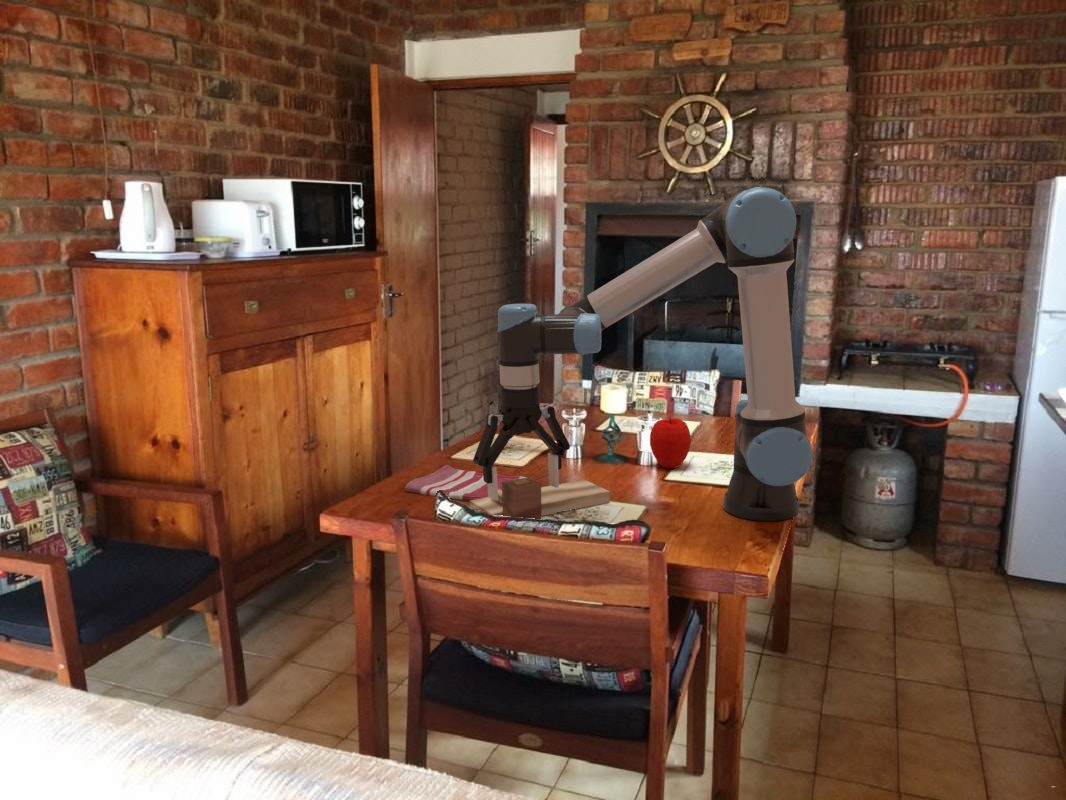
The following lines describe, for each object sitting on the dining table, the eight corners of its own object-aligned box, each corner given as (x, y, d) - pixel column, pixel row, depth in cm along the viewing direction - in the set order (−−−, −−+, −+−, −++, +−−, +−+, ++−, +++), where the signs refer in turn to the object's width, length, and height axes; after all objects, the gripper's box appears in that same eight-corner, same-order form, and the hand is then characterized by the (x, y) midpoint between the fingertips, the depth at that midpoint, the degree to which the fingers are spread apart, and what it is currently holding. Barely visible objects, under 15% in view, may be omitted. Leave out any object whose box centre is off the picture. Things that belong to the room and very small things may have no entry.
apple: (666, 458, 225) (667, 410, 222) (699, 466, 218) (700, 416, 215) (641, 466, 218) (641, 417, 215) (674, 474, 211) (675, 424, 208)
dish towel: (444, 474, 215) (443, 463, 215) (531, 486, 205) (531, 475, 204) (403, 494, 201) (403, 482, 200) (496, 508, 190) (495, 496, 190)
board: (609, 502, 192) (609, 491, 191) (492, 526, 178) (492, 514, 177) (584, 490, 200) (584, 479, 200) (470, 511, 187) (469, 500, 186)
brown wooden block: (541, 527, 177) (541, 482, 175) (514, 533, 174) (514, 487, 172) (508, 507, 189) (507, 465, 187) (482, 512, 186) (481, 469, 184)
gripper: (565, 375, 181) (568, 476, 186) (452, 390, 169) (458, 498, 174) (585, 380, 175) (588, 485, 179) (469, 397, 163) (475, 509, 167)
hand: (524, 492), depth 176 cm, fingers open, 13 cm apart
